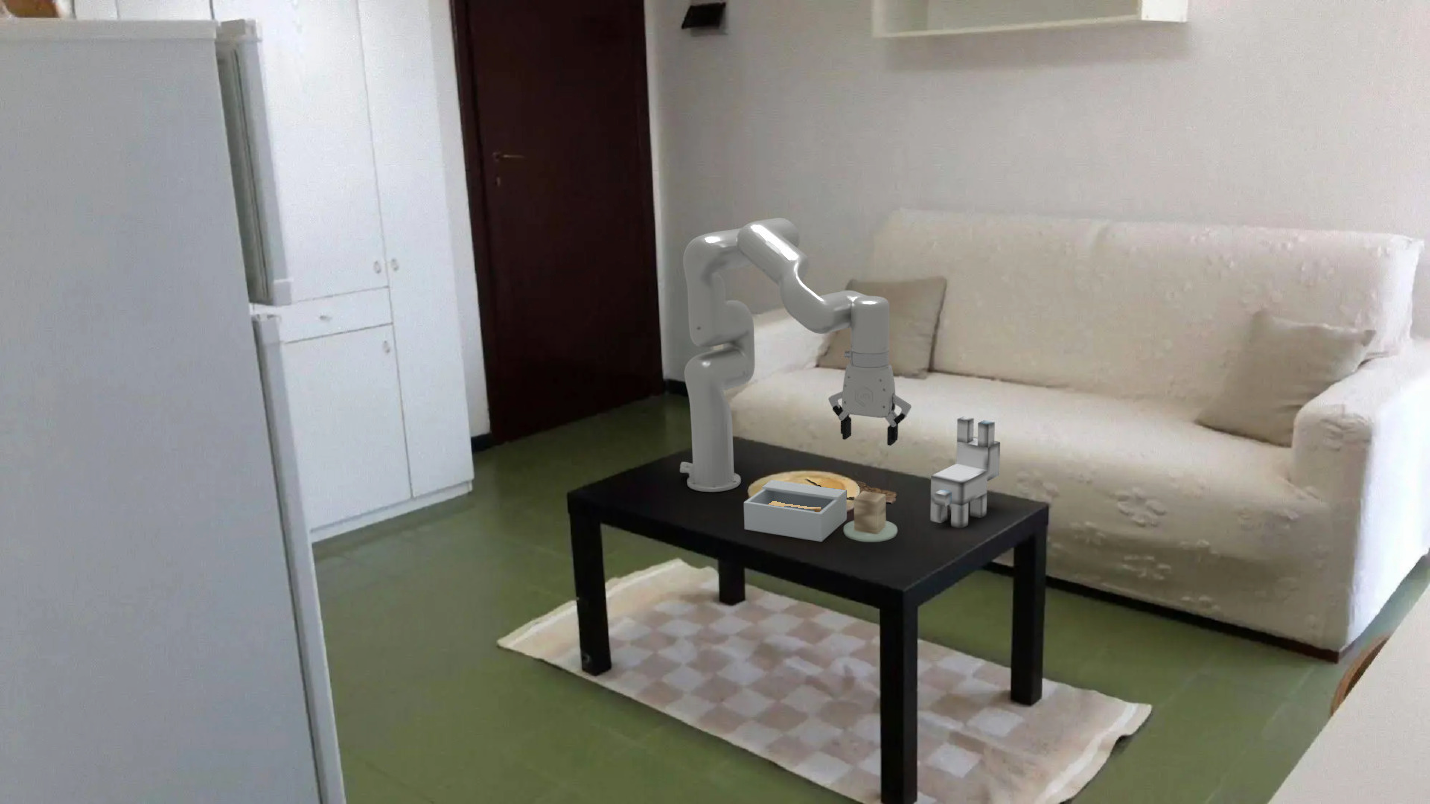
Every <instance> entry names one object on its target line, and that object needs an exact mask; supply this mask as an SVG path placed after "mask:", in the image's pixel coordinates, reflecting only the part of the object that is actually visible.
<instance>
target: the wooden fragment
mask: <svg viewBox="0 0 1430 804" xmlns="http://www.w3.org/2000/svg"><path fill="white" fill-rule="evenodd" d="M855 481H856V482H857V484H858V486H859V487H860V493H861V492H863V491H866V492H873V493H880V494H886V503H891V505H893V504H894V503H895V502H896V501H897V498H896V497H897V496H898V494H897V493H896V491H890V490H887V489H882V490H881V489H880V488H879V487H871V486H869V485H867V484H866V483H865V482H863V481H861V480H860V481H859V480H855Z"/></svg>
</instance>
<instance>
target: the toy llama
mask: <svg viewBox="0 0 1430 804" xmlns="http://www.w3.org/2000/svg"><path fill="white" fill-rule="evenodd" d="M974 421H975V418H974V417H969V416H961V417H959V418H957V425H956V427H957V428H956V463H955V464H953V465H951V466H948V467H947V468H945V469H942V470H940V471H938V472H936V473H934V474H931V476H930V482H931V483H930V521H931V522H935V523H939V524H942V523H944V522H945V521H947V520H948V506H949V512H950V515H951V518H950V526H951V527H954V528H956V529H957V528H958V529H963V528H965V527H967V526H968V525H969V516H971V517H975V518H979V519H981V518H983V517H985V516H986V515H987V510H988V509H987V508H988V507H987V505H988V504H987V502H988V500H987V499H988V482H990V481H991V480H993V479H995V478H997V477H998V476H1000V465H1001V464H1000V459H1001V458H1000V456H1001V441H997V440H995V430H996V429H995V426H996V425H995V423H996V422H995V421H991V420H982V421H980V422H978V423H977V437H976V436H974V430H975V429H974V427H975V425H974V423H975V422H974Z"/></svg>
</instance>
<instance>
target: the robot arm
mask: <svg viewBox="0 0 1430 804" xmlns="http://www.w3.org/2000/svg"><path fill="white" fill-rule="evenodd" d="M800 241H801V239H800V233H799V230H798V228H797V227H796V225H795V224H793V222H791V220H788V219H787V218H783V217H775V218H766V219H761V220H755V221H752V222H749V223H747V224H745V225H744V226H742V227H741V228H733V229H728V230H721V231H720V230H719V231H713V232H708V233H705V234H701V235H698V236H697V237H695V238H693V239H692V240H691V241H690V242H689V243H688V244H687V246H686V248H685V250H684V252H683V259H682V261H683V262H682V264H683V271H684V276H685V280H686V281H685V282H686V288H687V309H688V311H687V312H688V329H689V337H690V339H691V342H692V343H693V344H694V345H695V346H696V347H699V348H704V349H705V348H706V349H707V348H711V347H712V348H713V347H717V346H718V347H719V346H721V345H722V348H719V349H714V350H710V351H707V352H702V353H699V354H697V355H695V356H693V357H692V358H691V359H689V361H687V363H686V365H685V367H684V370H683V371H684V374H683V375H684V381H685V386H686V390H687V395H688V400H689V408H690V409H689V410H690V425H691V445H692V446H691V447H692V449H691V450H692V451H691V452H692V463H690V462H688V461H681V463H680V465H679V467H680V468H679V472H680V473H684V474H688V476H689V477H687V480H686V483H687V486H688V487H689V488H690V489H692V490H695V491H699V492H705V493H707V492H708V493H717V492H726V491H729V490H733V489H735V488H737V487H738V486H739V485H740V484H741V481H742V480H741V479H742V478H741V476H740V475H739V474H738V473H736V472H735V468H734V442H733V441H734V440H733V439H734V437H733V415H732V409H731V405H730V403H729V401H728V399H727V397H726V396H725V394H724V392H725V391H727V390H730V389H734V388H738V387H742V386H743V385H746V384H747V383H748V382H750V381H751V380H752V378H753V376H754V374H755V367H756V360H755V359H756V356H755V355H756V354H755V353H756V352H755V324H754V319H753V315H752V313H751V311H750V309H749V308H748V306H747V305H746V304H745V303H744V302H741V301H740V300H736V299H735V300H734V299H733V300H731V299H730V300H726V286H725V282H724V280H723V279H722V276H721V275H720V274H719V272H720V271H725V270H731V269H737V268H742V267H749V266H755V267H756V268H757V269H758V270H760V272H762V273H763V274H764V275H765V276H766V277H768V278H769V280H770V281H772V282H773V283H774V284H776V285H777V286H778V288H779V289H778V290H779V296H780V299H781V301H782V304H783V307H784V309H785V310H786V312H787V313H788V314H789V315H790V316H791V317H793V319H794V320H795V321H797V322H798V323H799V324H800V325H801V326H802V327H804V328H806V329H807V330H808V331H811V332H813V333H815V334H819V335H822V334H823V335H824V334H825V335H826V334H829V333H832V332H836V331H840V330H846V329H850V349H849V350H845V351H844V355H843V356H844V358H846V359H849V363H848V364H847V365H846V367H845V371H844V378H843V383H842V384H843V385H842V391H840V392H837V393H835V394H832V395H830V396H829V397H828V403H829V404H830V406H831V407H832V411H833V412H834V414H835V415H836V416H837V418H838V420H839V421H840V434H841V435H842V437H841V438H842V440H844V441H846V440H848V439H849V438H850V437H851V436H852V417H851V416H850V415H853V416H861V417H871V418H876V419H877V418H880V419H883V418H884V419H885V420H886V421H887V422H888V424H889V425H888V426H887V428H886V430H887V432H886V433H887V434H886V436H887V439H886V442H887V443H886V444H887V446H889V447H890V446H891V447H892V445H894V444H895V443H896V442H897V441H898V438H899V424H900V423H901V422H902V421H903V420H905V419H906V417H907V416H908V414H910V411H911V409H912V404H910V403H909V402H907V401H905V400H904V399H902V398H901V397H900V396H898V395H896V383H895V378H894V377H895V376H894V371H893V367H892V365H891V364H890V362H889V361H890V357H889V355H890V303H889V301H888V299H886V298H885V297H883V296H877V295H867V294H864V293H861V292H858V291H856V290H850V289H849V290H842V291H838V292H831V293H826V294H822V295H818V294H817V293H815V292H814V291H813V290H811V289H810V288H808V286H807V285H805V284H804V283H803V280H804V279H805V277H806V275H807V273H808V271H809V269H810V260H809V257H808V256H807V254H805V253H804V252H803V251H801V250H800V249H799V248H798V247H799V245H800ZM840 400H841V405H840V404H839V403H840V402H839V401H840ZM896 406H897V407H899V408H900V409H901V411H900V413H899V414H898V415H897V413H896V412H895V410H896Z"/></svg>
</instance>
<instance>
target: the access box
mask: <svg viewBox="0 0 1430 804" xmlns="http://www.w3.org/2000/svg"><path fill="white" fill-rule="evenodd" d="M772 501H777V502H781V503H785V504H793V505H800V506H807V507H821V509H822V510H821V511H820V512H815V510H811V509H804V508H798V507H791V506H784V507H781V506H774V505H768V504H769V503H771V502H772ZM847 503H848V501H847V490H842V489H835V488H827V487H820V486H818V485H812V484H804V483H797V482H791V481H785V480H784V481H782V480H776V479H771V480H769V481H768V482H767V483H765V484H764V485H763V486H761V489H760V490H759V491H758V492H756V493H755V494H754V495H752V496H750V497H749V498H748V499H746V500H745V501H744V502H743V517H744V518H743V519H744V522H743V523H744V530H748V531H753V532H759V533H764V534H765V533H766V534H772V535H777V536H778V535H779V536H784V537H785V536H786V537H790V538H791V537H792V538H796V539H802V540H807V541H808V540H810V541H815V542H821V543H822V542H823V541H824V540H825V539H826V538H828V536H830V535H831V534H833V532H835V531H836V529H838V527H840V526H841V525H842V524H843V523H844V522H846V521H847V519H848V518H847V517H848V514H847V513H848V512H847V511H848V509H847V507H848V505H847Z"/></svg>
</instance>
